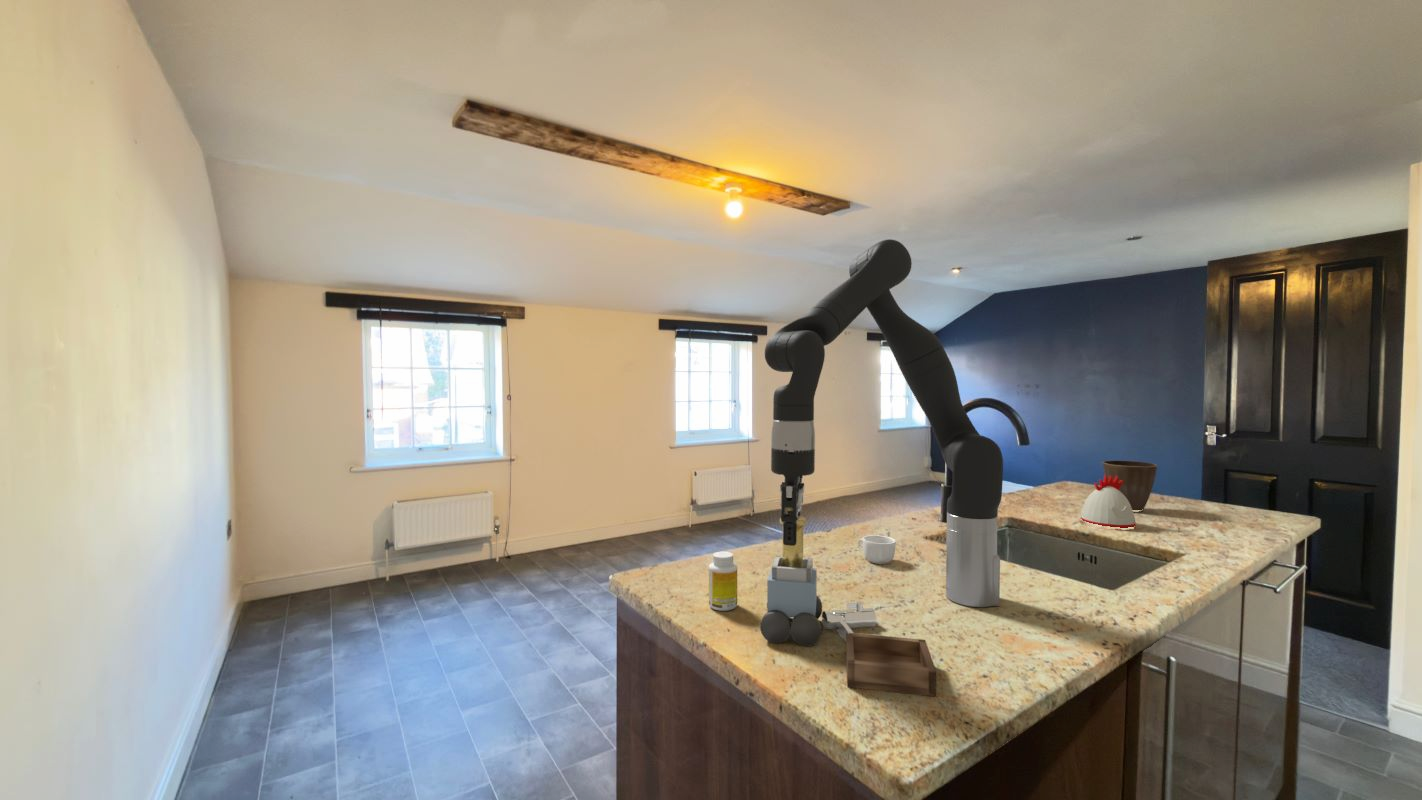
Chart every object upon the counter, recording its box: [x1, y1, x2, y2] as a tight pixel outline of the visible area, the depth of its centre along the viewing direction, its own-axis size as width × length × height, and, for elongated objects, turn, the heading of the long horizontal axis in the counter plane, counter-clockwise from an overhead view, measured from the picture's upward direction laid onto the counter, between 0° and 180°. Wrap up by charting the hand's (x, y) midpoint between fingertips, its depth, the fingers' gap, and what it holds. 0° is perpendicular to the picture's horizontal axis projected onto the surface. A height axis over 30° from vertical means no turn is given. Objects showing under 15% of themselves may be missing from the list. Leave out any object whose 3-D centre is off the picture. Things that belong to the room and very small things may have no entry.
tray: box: [845, 632, 937, 697], centre depth 85 cm, size 12×10×4 cm
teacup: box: [857, 534, 897, 565], centre depth 139 cm, size 10×8×5 cm
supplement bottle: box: [708, 551, 738, 612], centre depth 110 cm, size 6×6×10 cm
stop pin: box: [779, 515, 807, 568], centre depth 99 cm, size 5×5×10 cm
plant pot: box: [1102, 460, 1158, 510], centre depth 193 cm, size 15×15×16 cm
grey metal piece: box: [821, 601, 877, 643], centre depth 98 cm, size 10×4×9 cm
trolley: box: [759, 555, 823, 647], centre depth 100 cm, size 10×11×12 cm
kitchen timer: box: [1079, 475, 1137, 528], centre depth 174 cm, size 14×14×15 cm
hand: (791, 538), depth 100 cm, fingers open, 8 cm apart
